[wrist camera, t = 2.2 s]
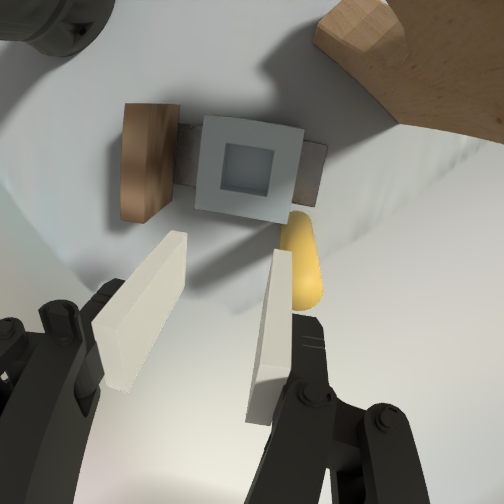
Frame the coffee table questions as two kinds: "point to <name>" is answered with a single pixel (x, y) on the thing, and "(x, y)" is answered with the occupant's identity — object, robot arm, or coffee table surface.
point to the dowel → (302, 260)
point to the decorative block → (424, 60)
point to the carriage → (247, 168)
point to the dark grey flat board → (306, 173)
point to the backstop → (147, 159)
